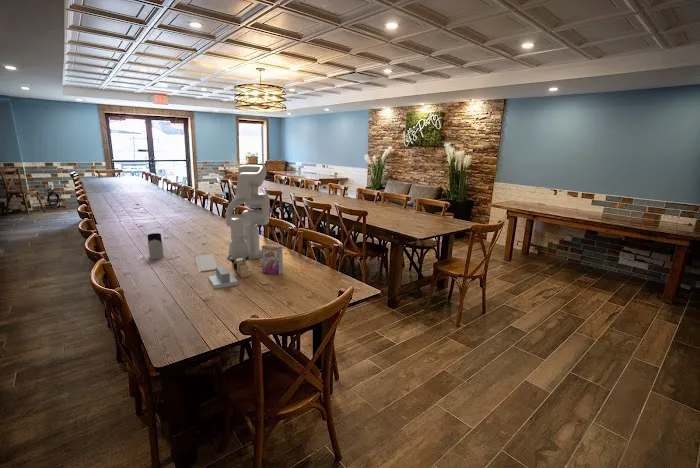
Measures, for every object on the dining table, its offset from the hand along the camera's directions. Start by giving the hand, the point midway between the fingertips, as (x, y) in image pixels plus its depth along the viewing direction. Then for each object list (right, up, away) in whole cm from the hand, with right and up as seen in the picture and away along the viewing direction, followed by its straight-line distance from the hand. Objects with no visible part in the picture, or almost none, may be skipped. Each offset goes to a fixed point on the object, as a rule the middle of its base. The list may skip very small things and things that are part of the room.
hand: (239, 268), depth 201 cm
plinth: (-4, -6, -16) cm, 18 cm away
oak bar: (0, -1, 0) cm, 1 cm away
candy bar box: (+19, -3, -1) cm, 20 cm away
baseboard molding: (-26, +1, +13) cm, 29 cm away
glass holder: (-62, +6, +25) cm, 67 cm away
